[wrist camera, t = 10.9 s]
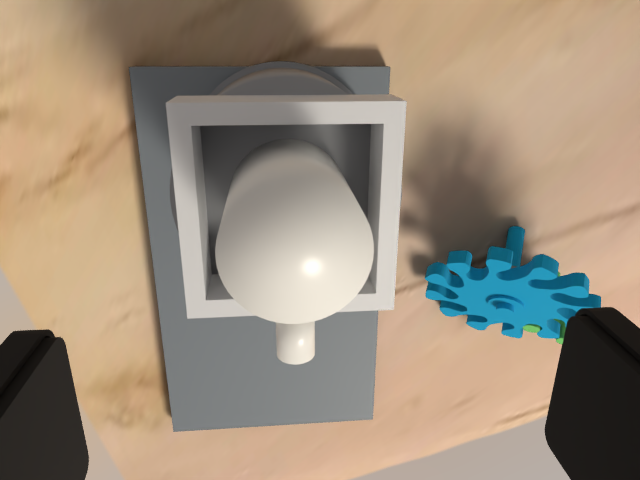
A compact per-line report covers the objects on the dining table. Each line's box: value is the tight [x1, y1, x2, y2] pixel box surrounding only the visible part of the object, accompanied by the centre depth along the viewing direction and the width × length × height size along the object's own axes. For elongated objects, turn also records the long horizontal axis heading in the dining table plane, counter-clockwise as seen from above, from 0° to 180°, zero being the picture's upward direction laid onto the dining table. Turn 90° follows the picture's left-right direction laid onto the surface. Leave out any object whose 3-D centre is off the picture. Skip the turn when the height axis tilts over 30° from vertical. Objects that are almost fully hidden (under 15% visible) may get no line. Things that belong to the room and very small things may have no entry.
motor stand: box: [129, 61, 407, 432], centre depth 28 cm, size 24×14×12 cm, turn 0°
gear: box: [425, 226, 601, 344], centre depth 33 cm, size 11×6×10 cm
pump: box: [215, 139, 374, 365], centre depth 20 cm, size 7×5×6 cm
